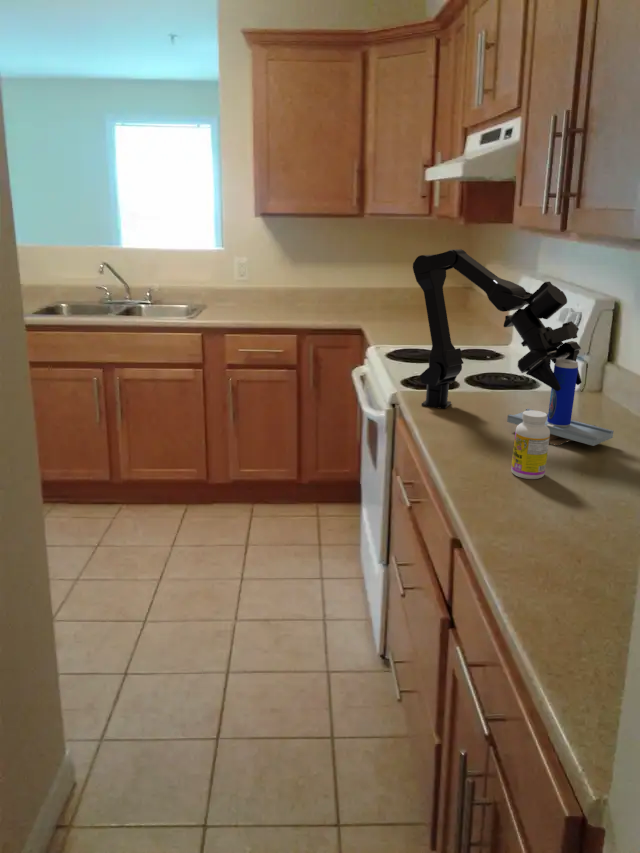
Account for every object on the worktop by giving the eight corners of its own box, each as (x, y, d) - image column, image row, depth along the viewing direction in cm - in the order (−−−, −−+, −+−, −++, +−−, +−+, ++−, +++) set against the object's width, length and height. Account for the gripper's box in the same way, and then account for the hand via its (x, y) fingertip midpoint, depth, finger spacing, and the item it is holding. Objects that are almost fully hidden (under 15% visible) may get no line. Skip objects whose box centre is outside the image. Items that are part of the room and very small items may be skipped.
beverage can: (546, 420, 177) (554, 358, 172) (568, 422, 176) (577, 359, 171) (547, 426, 172) (556, 363, 167) (571, 428, 171) (580, 364, 166)
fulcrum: (533, 439, 173) (534, 432, 173) (557, 430, 180) (558, 423, 180) (557, 445, 169) (557, 438, 169) (580, 436, 176) (581, 429, 176)
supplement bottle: (507, 467, 154) (514, 408, 151) (539, 469, 154) (547, 409, 150) (514, 479, 148) (521, 417, 144) (548, 481, 148) (556, 418, 144)
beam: (506, 421, 179) (507, 414, 178) (527, 415, 185) (528, 408, 184) (593, 445, 164) (594, 437, 163) (612, 437, 170) (613, 430, 169)
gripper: (535, 313, 163) (575, 372, 158) (578, 306, 175) (616, 361, 171) (500, 343, 170) (538, 400, 166) (544, 335, 183) (580, 388, 178)
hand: (569, 386), depth 170 cm, fingers open, 9 cm apart
